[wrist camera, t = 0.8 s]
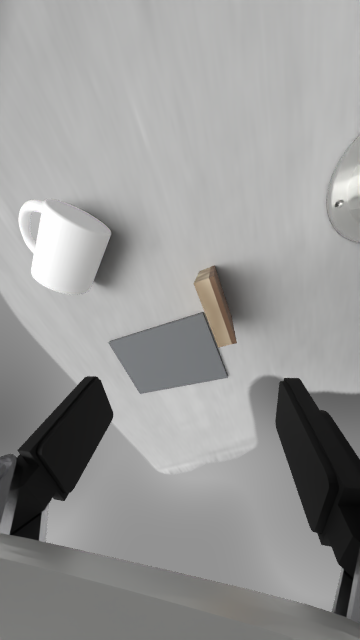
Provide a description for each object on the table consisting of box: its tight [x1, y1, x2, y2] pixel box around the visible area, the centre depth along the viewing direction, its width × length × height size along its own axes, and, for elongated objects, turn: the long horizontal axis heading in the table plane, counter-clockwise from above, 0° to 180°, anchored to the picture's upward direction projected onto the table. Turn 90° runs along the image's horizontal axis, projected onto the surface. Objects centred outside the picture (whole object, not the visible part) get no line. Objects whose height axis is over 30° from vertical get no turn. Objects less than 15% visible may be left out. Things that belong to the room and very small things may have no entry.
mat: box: [109, 312, 228, 394], centre depth 36 cm, size 20×14×1 cm
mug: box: [19, 199, 111, 295], centre depth 26 cm, size 12×10×8 cm
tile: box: [194, 266, 237, 347], centre depth 25 cm, size 2×9×8 cm, turn 23°
